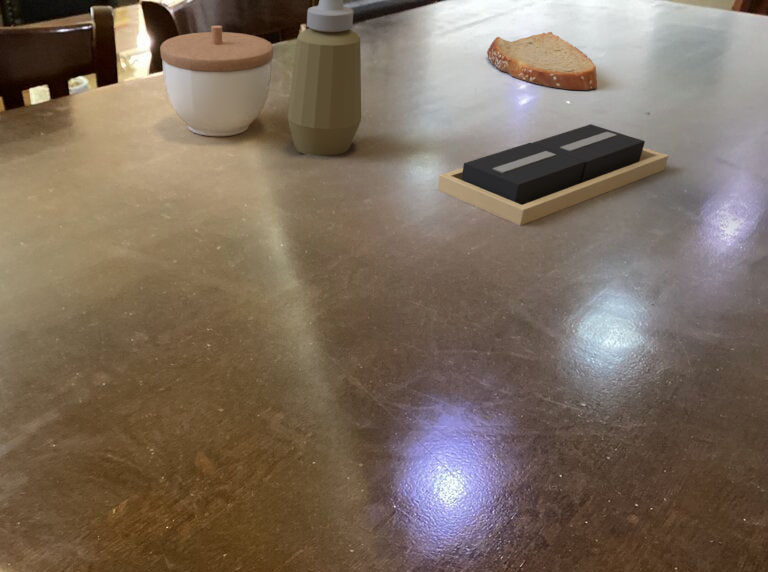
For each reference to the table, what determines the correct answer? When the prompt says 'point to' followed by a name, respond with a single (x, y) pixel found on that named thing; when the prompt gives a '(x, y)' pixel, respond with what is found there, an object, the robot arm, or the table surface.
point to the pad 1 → (524, 173)
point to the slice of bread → (544, 62)
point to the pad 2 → (596, 149)
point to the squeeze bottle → (326, 82)
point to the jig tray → (554, 202)
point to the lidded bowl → (217, 79)
